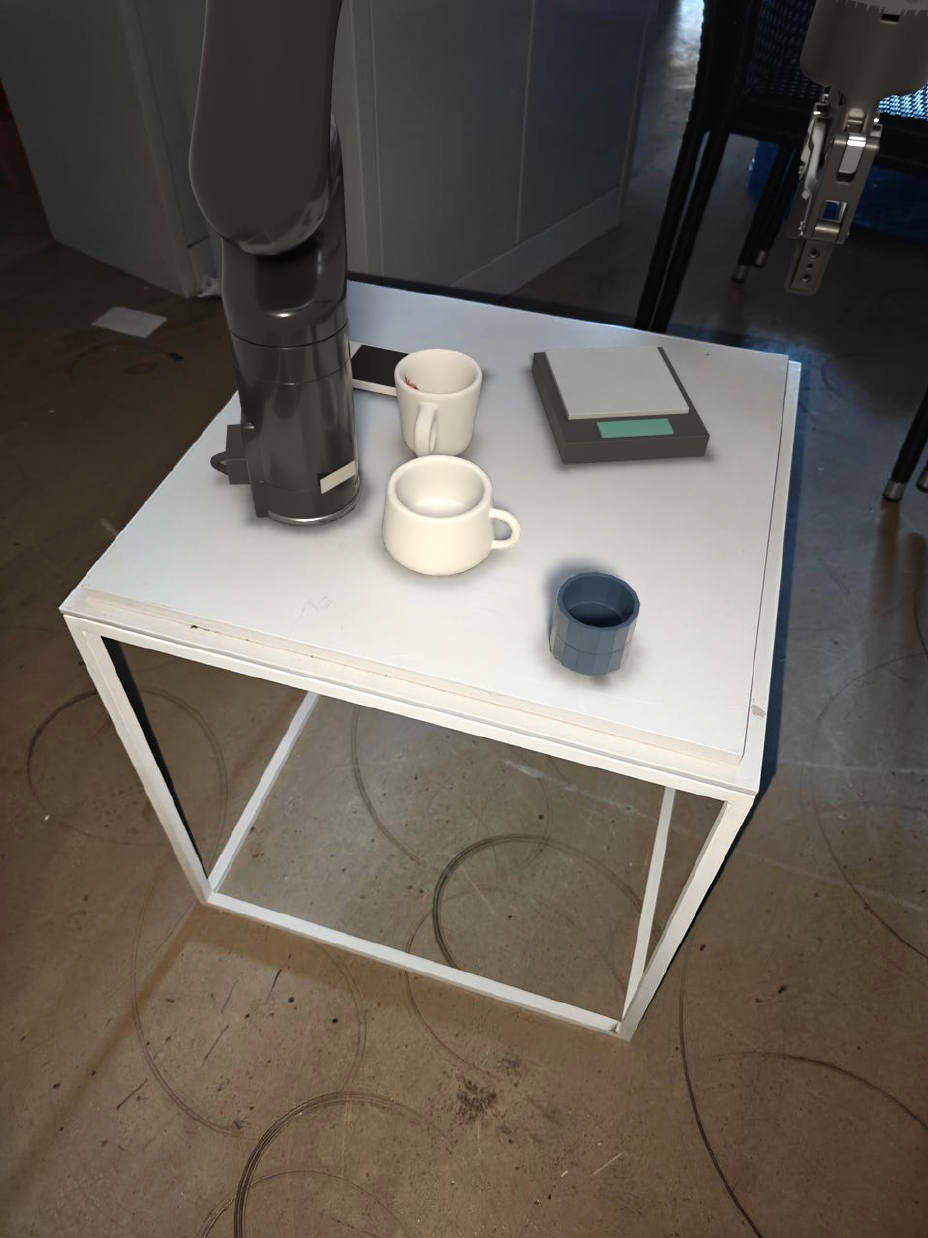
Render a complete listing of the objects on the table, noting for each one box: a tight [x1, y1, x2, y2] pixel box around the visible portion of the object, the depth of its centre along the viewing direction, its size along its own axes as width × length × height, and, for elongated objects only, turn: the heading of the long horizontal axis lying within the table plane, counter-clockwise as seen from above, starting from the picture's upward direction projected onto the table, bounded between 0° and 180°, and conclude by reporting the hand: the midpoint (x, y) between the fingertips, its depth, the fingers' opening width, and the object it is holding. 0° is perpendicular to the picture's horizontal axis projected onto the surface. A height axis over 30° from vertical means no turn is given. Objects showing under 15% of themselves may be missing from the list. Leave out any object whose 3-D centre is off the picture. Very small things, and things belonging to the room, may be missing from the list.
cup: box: [394, 348, 483, 458], centre depth 82 cm, size 11×8×8 cm
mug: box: [382, 455, 522, 577], centre depth 75 cm, size 12×10×6 cm
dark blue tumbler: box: [549, 571, 641, 677], centre depth 67 cm, size 6×6×6 cm
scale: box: [531, 345, 711, 465], centre depth 90 cm, size 14×16×3 cm
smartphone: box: [350, 340, 412, 397], centre depth 93 cm, size 7×16×1 cm, turn 73°
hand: (798, 263), depth 62 cm, fingers open, 8 cm apart
